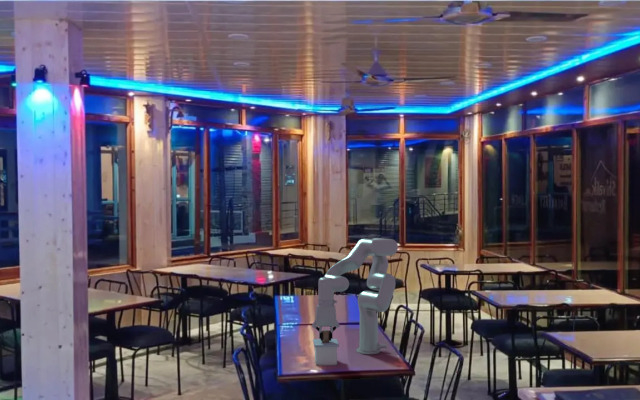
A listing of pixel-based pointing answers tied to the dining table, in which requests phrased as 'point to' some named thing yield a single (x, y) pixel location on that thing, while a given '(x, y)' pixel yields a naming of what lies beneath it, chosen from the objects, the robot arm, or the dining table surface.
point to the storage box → (326, 356)
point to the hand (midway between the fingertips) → (325, 339)
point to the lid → (326, 340)
